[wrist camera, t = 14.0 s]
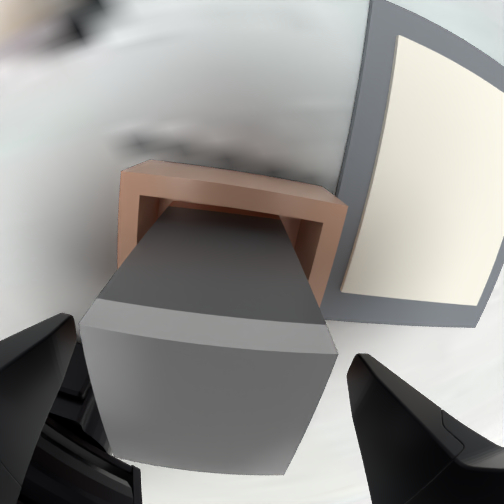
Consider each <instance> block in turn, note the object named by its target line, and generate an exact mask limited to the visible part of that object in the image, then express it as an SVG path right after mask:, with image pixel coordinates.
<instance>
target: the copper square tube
mask: <svg viewBox="0 0 504 504" xmlns="http://www.w3.org/2000/svg"><path fill="white" fill-rule="evenodd" d="M172 201H177V202H187V203H196V204H204V205H213V206H222V207H230V208H238V209H244V210H251V211H257V212H263V213H269V214H275V215H279V217H280V219H281V221H282V223H283V226H284V228H285V230H286V232H287V234H288V237H289V239H290V241H291V243H292V246H293V248H294V250H295V252H296V255H297V257H298V259H299V262H300V264H301V266H302V268H303V271H304V273H305V275H306V278H307V280H308V282H309V285H310V287H311V289H312V292H313V294H314V296H315V299H316V301H317V303H318V306H319V308H320V305H321V302H322V298H323V295H324V292H325V289H326V285H327V282H328V279H329V275H330V272H331V268H332V265H333V262H334V258H335V255H336V251H337V247H338V244H339V240H340V236H341V233H342V229H343V225H344V221H345V217H346V214H347V210H348V206H347V205H346V204H345V203H343V202H342V201H341V200H340V199H338V198H337V197H336V196H334V195H333V194H332V193H330V192H329V191H327V190H326V189H325V188H323V187H322V186H318V185H313V184H308V183H303V182H298V181H292V180H287V179H282V178H276V177H270V176H265V175H259V174H253V173H247V172H240V171H234V170H227V169H221V168H214V167H207V166H199V165H192V164H184V163H176V162H167V161H158V160H148V161H145V162H142V163H140V164H137V165H135V166H132V167H130V168H128V169H125V170H123V171H121V179H120V193H119V211H118V243H117V270H118V268H119V267H120V266H121V264H122V263H123V262H124V261H125V259H126V258H127V257H128V255H129V254H130V253H131V252H132V250H133V249H134V248H135V246H136V245H137V244H138V243H139V241H140V240H141V239H142V238H143V236H144V235H145V234H146V233H147V231H148V230H149V229H150V228H151V227H152V225H153V224H154V223H155V222H156V220H157V219H158V218H159V217H160V216H161V214H162V213H163V212H164V211H165V210H166V209H167V207H168V206H169V205H170V204H171V203H172Z"/></svg>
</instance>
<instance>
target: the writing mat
mask: <svg viewBox="0 0 504 504" xmlns="http://www.w3.org/2000/svg"><path fill="white" fill-rule="evenodd" d="M335 196H336V197H337V198H338V199H340V200H341V201H342V202H343V203H345V204H346V205H347V206H348V210H347V214H346V217H345V221H344V225H343V229H342V233H341V236H340V240H339V244H338V247H337V251H336V255H335V258H334V262H333V265H332V268H331V272H330V275H329V279H328V282H327V285H326V289H325V292H324V295H323V298H322V302H321V305H320V310H321V313H322V315H323V318H324V319H325V320H336V321H348V322H361V323H375V324H391V325H409V326H431V327H464V328H475V327H476V325H477V323H478V321H479V319H480V317H481V315H482V313H483V311H484V309H485V306H486V304H487V302H488V300H489V298H490V295H491V293H492V291H493V288H494V286H495V284H496V281H497V279H498V276H499V274H500V271H501V268H502V266H503V263H504V66H502V65H501V64H499V63H498V62H497V61H495V60H494V59H492V58H491V57H490V56H488V55H487V54H485V53H484V52H482V51H481V50H479V49H478V48H476V47H475V46H473V45H471V44H470V43H468V42H467V41H465V40H463V39H462V38H460V37H458V36H457V35H455V34H453V33H452V32H450V31H448V30H446V29H444V28H443V27H441V26H439V25H437V24H435V23H433V22H431V21H429V20H427V19H425V18H423V17H421V16H419V15H417V14H415V13H413V12H411V11H409V10H407V9H405V8H402V7H400V6H398V5H395V4H393V3H391V2H388V1H386V0H370V6H369V14H368V22H367V30H366V37H365V44H364V51H363V58H362V64H361V70H360V76H359V82H358V88H357V94H356V99H355V105H354V110H353V116H352V121H351V126H350V131H349V136H348V141H347V146H346V151H345V155H344V160H343V165H342V169H341V174H340V178H339V182H338V187H337V191H336V195H335Z"/></svg>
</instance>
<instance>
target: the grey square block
mask: <svg viewBox="0 0 504 504" xmlns="http://www.w3.org/2000/svg"><path fill="white" fill-rule="evenodd" d="M79 330H80V335H81V340H82V345H83V350H84V355H85V359H86V364H87V368H88V372H89V376H90V380H91V384H92V388H93V392H94V396H95V399H96V403H97V406H98V410H99V413H100V416H101V420H102V423H103V426H104V429H105V432H106V435H107V438H108V441H109V444H110V447H111V449H112V452H113V455H114V457H117V458H121V459H125V460H130V461H134V462H139V463H144V464H150V465H155V466H161V467H168V468H174V469H182V470H189V471H198V472H208V473H221V474H237V475H284V474H285V472H286V470H287V468H288V466H289V464H290V462H291V460H292V458H293V456H294V454H295V452H296V450H297V448H298V446H299V444H300V442H301V440H302V438H303V436H304V434H305V432H306V430H307V427H308V425H309V423H310V421H311V419H312V416H313V414H314V412H315V410H316V407H317V405H318V403H319V401H320V398H321V396H322V394H323V391H324V389H325V386H326V384H327V382H328V379H329V377H330V374H331V372H332V369H333V367H334V364H335V362H336V359H337V356H338V352H337V349H336V347H335V344H334V342H333V339H332V337H331V335H330V332H329V330H328V327H327V325H326V322H325V320H324V318H323V315H322V313H321V310H320V308H319V306H318V303H317V301H316V299H315V296H314V294H313V292H312V289H311V287H310V285H309V282H308V280H307V278H306V275H305V273H304V271H303V268H302V266H301V264H300V262H299V259H298V257H297V255H296V252H295V250H294V248H293V246H292V243H291V241H290V239H289V237H288V234H287V232H286V230H285V228H284V226H283V223H282V221H281V219H280V217H279V215H275V214H269V213H263V212H257V211H251V210H244V209H238V208H230V207H222V206H213V205H204V204H196V203H187V202H177V201H172V203H171V204H170V205H169V206H168V207H167V209H166V210H165V211H164V212H163V213H162V214H161V216H160V217H159V218H158V219H157V220H156V222H155V223H154V224H153V225H152V227H151V228H150V229H149V230H148V231H147V233H146V234H145V235H144V236H143V238H142V239H141V240H140V241H139V243H138V244H137V245H136V246H135V248H134V249H133V250H132V252H131V253H130V254H129V255H128V257H127V258H126V259H125V261H124V262H123V263H122V264H121V266H120V267H119V268H118V270H117V271H116V272H115V274H114V275H113V276H112V278H111V279H110V280H109V282H108V283H107V285H106V286H105V287H104V289H103V290H102V291H101V293H100V294H99V295H98V297H97V298H96V300H95V301H94V302H93V304H92V305H91V307H90V308H89V310H88V311H87V312H86V314H85V315H84V317H83V318H82V320H81V321H80V323H79Z"/></svg>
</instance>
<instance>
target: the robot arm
mask: <svg viewBox="0 0 504 504" xmlns="http://www.w3.org/2000/svg"><path fill="white" fill-rule="evenodd" d="M76 341H77V335H76V329H75V322H74V318H73V316H72V315H69V314H65V313H60V314H57V315H55V316H53V317H51V318H49V319H47V320H44V321H42V322H40V323H38V324H36V325H34V326H31V327H29V328H27V329H25V330H23V331H21V332H18V333H16V334H14V335H12V336H10V337H8V338H6V339H4V340H1V341H0V504H142V492H141V472H140V469H139V468H137V467H135V466H133V465H131V466H130V465H128V464H126V463H124V462H123V461H121V460H119V459H117V458H115V457H113V456H111V455H112V449H111V447H110V444H109V441H108V438H107V435H106V432H105V429H104V426H103V423H102V420H101V416H100V413H99V410H98V406H97V403H96V399H95V396H94V392H93V388H92V384H91V380H90V376H89V372H88V368H87V364H86V359H85V355H84V350H83V345H82V344H80V343H76ZM347 384H348V391H349V398H350V405H351V412H352V418H353V422H354V426H355V430H356V435H357V439H358V443H359V447H360V451H361V455H362V460H363V464H364V468H365V473H366V477H367V482H368V486H369V491H370V495H371V500H372V504H504V447H501V446H498V445H496V444H494V443H493V442H491V441H489V440H488V439H486V438H485V437H483V436H481V435H480V434H478V433H476V432H475V431H473V430H471V429H470V428H468V427H467V426H465V425H464V424H462V423H461V422H459V421H458V420H456V419H455V418H453V417H452V416H451V415H449V414H448V413H447V412H445V411H444V410H441V408H440V407H439V406H437V405H436V404H435V403H433V402H432V401H430V400H429V399H428V398H426V397H425V396H424V395H422V394H421V393H420V392H418V391H417V390H416V389H414V388H413V387H412V386H410V385H409V384H408V383H406V382H405V381H404V380H402V379H401V378H400V377H398V376H397V375H396V374H394V373H393V372H392V371H390V370H389V369H388V368H387V367H385V366H384V365H383V364H381V363H380V362H379V361H377V360H376V359H375V358H373V357H372V356H371V355H369V354H360V353H359V354H356V355H355V357H354V359H353V361H352V363H351V366H350V368H349V370H348V373H347Z"/></svg>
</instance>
